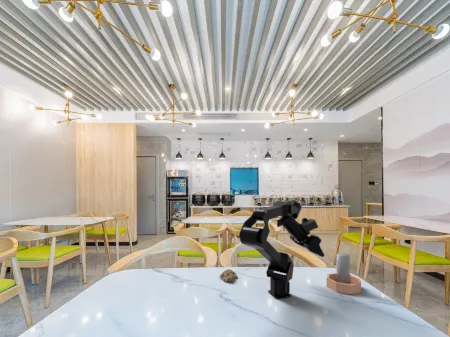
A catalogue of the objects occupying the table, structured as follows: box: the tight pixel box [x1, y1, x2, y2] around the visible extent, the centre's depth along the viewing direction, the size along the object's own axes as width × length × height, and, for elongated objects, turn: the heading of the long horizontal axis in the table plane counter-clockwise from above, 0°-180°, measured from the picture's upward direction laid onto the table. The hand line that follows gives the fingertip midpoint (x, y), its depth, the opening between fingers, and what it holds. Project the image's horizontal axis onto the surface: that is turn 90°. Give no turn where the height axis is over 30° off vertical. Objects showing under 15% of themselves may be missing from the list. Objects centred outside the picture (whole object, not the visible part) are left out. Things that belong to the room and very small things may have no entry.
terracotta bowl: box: [326, 272, 362, 295], centre depth 103 cm, size 13×13×4 cm
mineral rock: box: [219, 268, 238, 284], centre depth 111 cm, size 11×4×8 cm
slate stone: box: [335, 252, 351, 284], centre depth 103 cm, size 5×5×12 cm
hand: (317, 253), depth 104 cm, fingers open, 9 cm apart
